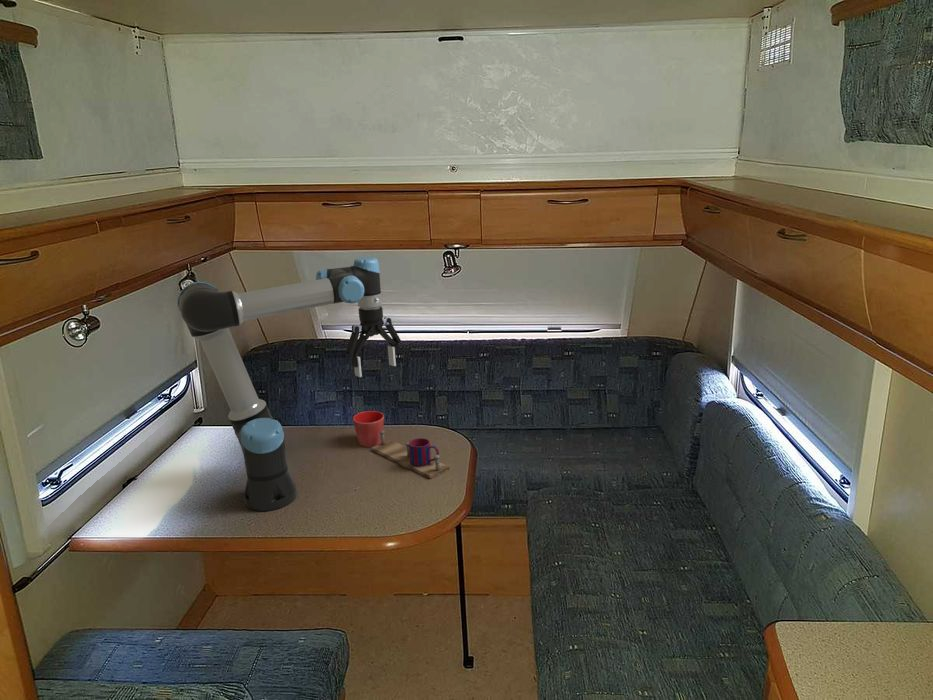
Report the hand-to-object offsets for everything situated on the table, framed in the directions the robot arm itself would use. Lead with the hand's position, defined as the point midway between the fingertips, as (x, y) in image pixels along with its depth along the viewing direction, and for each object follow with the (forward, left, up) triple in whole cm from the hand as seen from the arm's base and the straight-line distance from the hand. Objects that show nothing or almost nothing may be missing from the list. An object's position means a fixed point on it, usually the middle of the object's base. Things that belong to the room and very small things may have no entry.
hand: (375, 370), depth 220 cm
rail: (+11, -6, -29) cm, 31 cm away
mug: (+17, -10, -28) cm, 34 cm away
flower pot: (-6, +6, -29) cm, 30 cm away
